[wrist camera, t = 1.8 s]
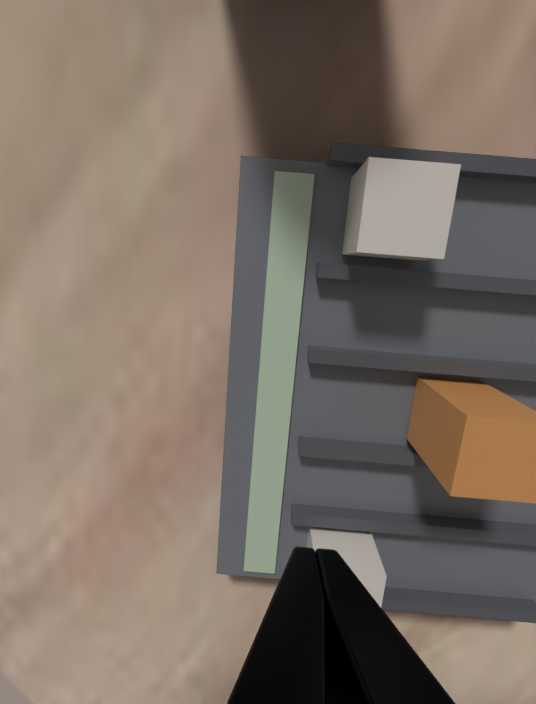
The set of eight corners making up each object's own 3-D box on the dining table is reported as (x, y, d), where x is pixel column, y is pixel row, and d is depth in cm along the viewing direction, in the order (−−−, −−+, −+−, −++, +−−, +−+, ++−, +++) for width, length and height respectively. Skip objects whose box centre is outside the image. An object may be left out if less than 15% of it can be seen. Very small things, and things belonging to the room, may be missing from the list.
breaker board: (691, 192, 17) (861, 161, 12) (568, 583, 21) (655, 676, 17) (246, 156, 17) (233, 111, 12) (221, 553, 22) (205, 637, 17)
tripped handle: (484, 382, 17) (557, 423, 12) (470, 443, 17) (536, 503, 13) (417, 376, 17) (467, 415, 12) (406, 438, 17) (450, 495, 13)
